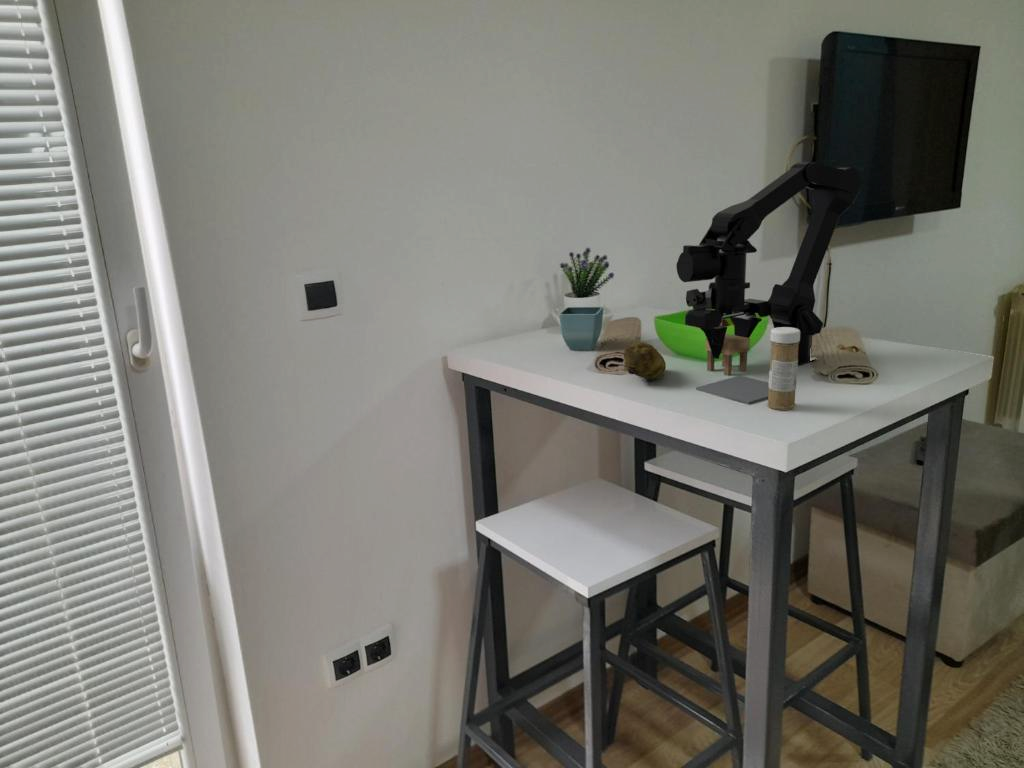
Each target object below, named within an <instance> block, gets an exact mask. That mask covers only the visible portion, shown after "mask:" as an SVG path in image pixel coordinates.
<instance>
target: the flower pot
mask: <svg viewBox="0 0 1024 768" xmlns="http://www.w3.org/2000/svg"><path fill="white" fill-rule="evenodd" d="M603 315H604V307H603V306H567V307H566V308H564V309H563V310H562V311H561V312H560V313H558V319H559V325H560V332H561V335H562V339H563V340H564V343H565V345H566V346H567V347H568V349H569V350H570V351H591V350H593V348H594V347H595V346H596V344H597V342H598V340H599V338H600V336H601V333H602V332H601V331H602V327H603V317H604V316H603Z"/></svg>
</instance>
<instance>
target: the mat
mask: <svg viewBox="0 0 1024 768" xmlns="http://www.w3.org/2000/svg"><path fill="white" fill-rule="evenodd" d="M695 390H697V391H699V392H703V391H704V393H707V394H710V393H711V395H714V394H715V395H714V396H717V395H719V397H722V398H724V397H725V399H728V400H732V401H735V402H738V403H742V404H745V405H751V404H755V403H759V402H761V401H764V400H768V395H769V381H763V380H761V379H756V378H751V377H748V376H744V375H736V376H733V377H732V376H731V377H728V378H725V379H721V380H718V381H715V382H710V383H707V384H704V385H703V384H702V385H699V386H696V387H695Z"/></svg>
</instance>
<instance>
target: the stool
mask: <svg viewBox="0 0 1024 768" xmlns="http://www.w3.org/2000/svg"><path fill="white" fill-rule="evenodd" d="M704 346H705V347H704V348H705V349H704V350H705V351H707V352H706V353H707V354H706V355H707V358H706V371H708V370H710V371H709V372H713V371H712V370H714V371H715V360H716V359H715V358H713V355H712V352H711V349H710V346H709V343H708V340H707V338H706V337H705V345H704ZM750 350H751V338H750V337H749V338H746V337H741V336H736V335H734V334H730V333H726V335H725V339H724V343H723V347H722V351H721V354H720V355H721V356H722V357H721V367H722V366H724V367H723V368H724V369H723V375H725V376H727V375H729V376H731V375H732V374H733V373H732V372H733V371H732V369H733V368H732V367H733V355H735V354H738V353H739V366H738V371H739V370H740V372H747V371H746V370H747V369H748V351H750Z"/></svg>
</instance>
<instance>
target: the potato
mask: <svg viewBox="0 0 1024 768" xmlns="http://www.w3.org/2000/svg"><path fill="white" fill-rule="evenodd" d="M623 361H624V365H625V367H626V368H627V372H628V374H629V375H635V376H637V377H639V378H643V379H645V380H652V381H653V380H658V379H659V378H661V377H662V376H663V375H664V374H665V371H666V367H667V366H666V365H667V363H666V360H665V359H664V357H663V355H662V354H661V353H660V352H659V351H658V350H657V348H655V347H654V346H653V345H651V344H650V343H647V342H644V341H643V342H641V341H640V342H633V343H631V344H630V345H628V346H627V347H625V349H624V352H623Z"/></svg>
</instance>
